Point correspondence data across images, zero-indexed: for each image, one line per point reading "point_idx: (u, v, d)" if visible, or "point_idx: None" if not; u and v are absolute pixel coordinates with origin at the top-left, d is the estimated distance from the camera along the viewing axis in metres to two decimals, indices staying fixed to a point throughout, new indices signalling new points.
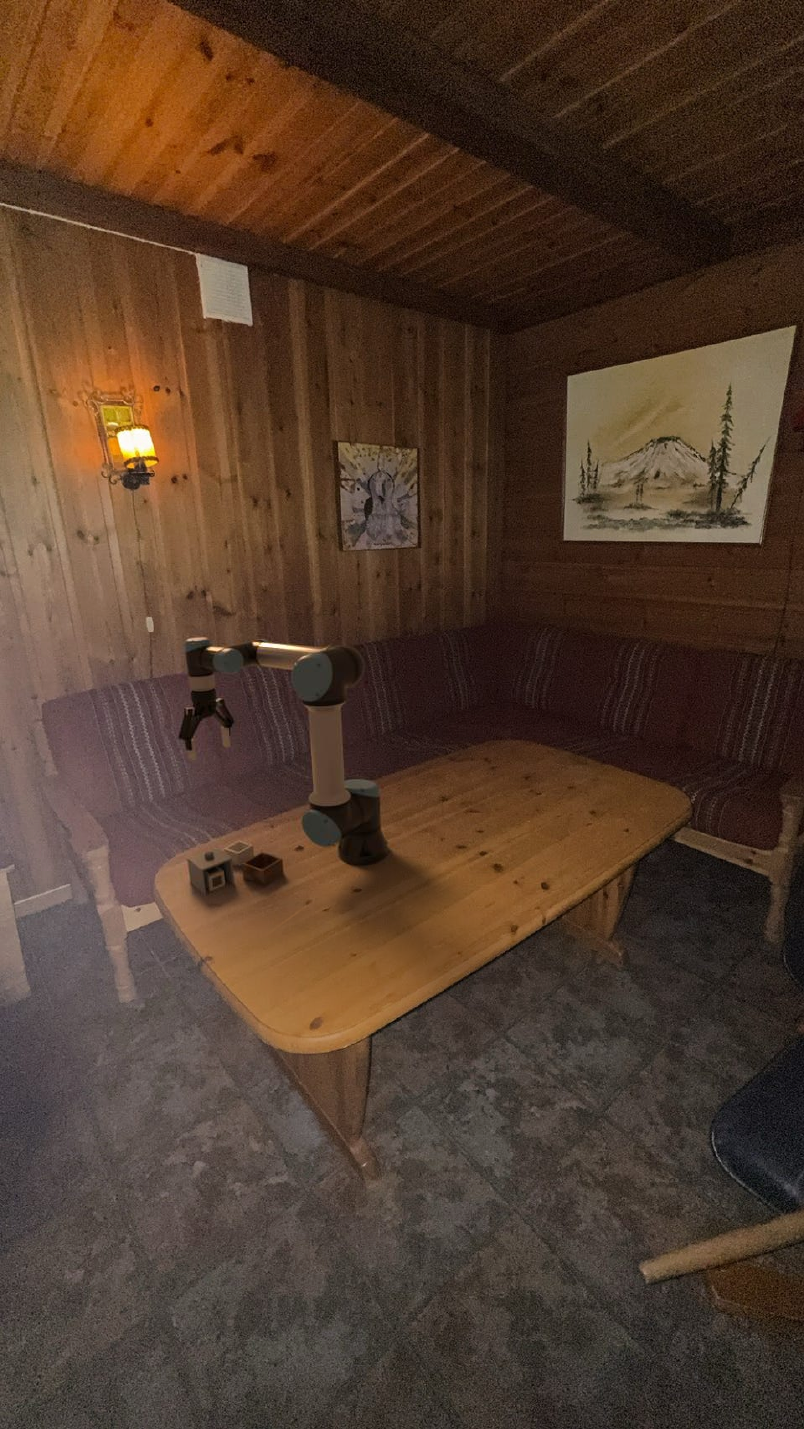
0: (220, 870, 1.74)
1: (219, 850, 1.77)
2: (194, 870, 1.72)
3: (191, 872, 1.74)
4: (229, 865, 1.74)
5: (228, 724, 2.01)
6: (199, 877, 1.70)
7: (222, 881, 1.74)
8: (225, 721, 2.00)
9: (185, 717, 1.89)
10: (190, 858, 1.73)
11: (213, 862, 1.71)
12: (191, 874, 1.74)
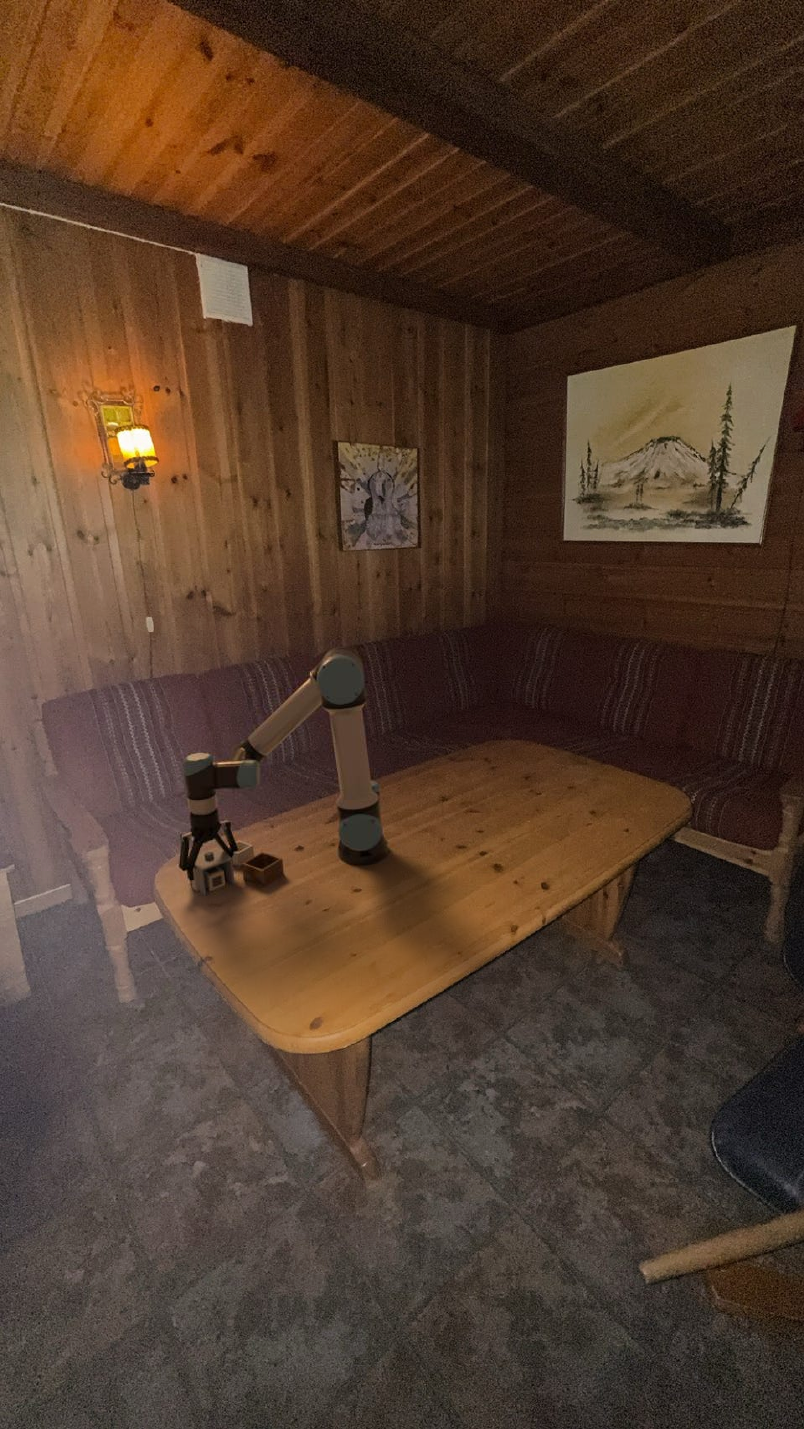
0: (220, 870, 1.74)
1: (219, 850, 1.77)
2: None
3: None
4: (229, 865, 1.74)
5: (229, 852, 1.76)
6: (199, 877, 1.70)
7: (222, 881, 1.74)
8: (226, 848, 1.75)
9: (182, 845, 1.68)
10: None
11: (213, 862, 1.71)
12: None
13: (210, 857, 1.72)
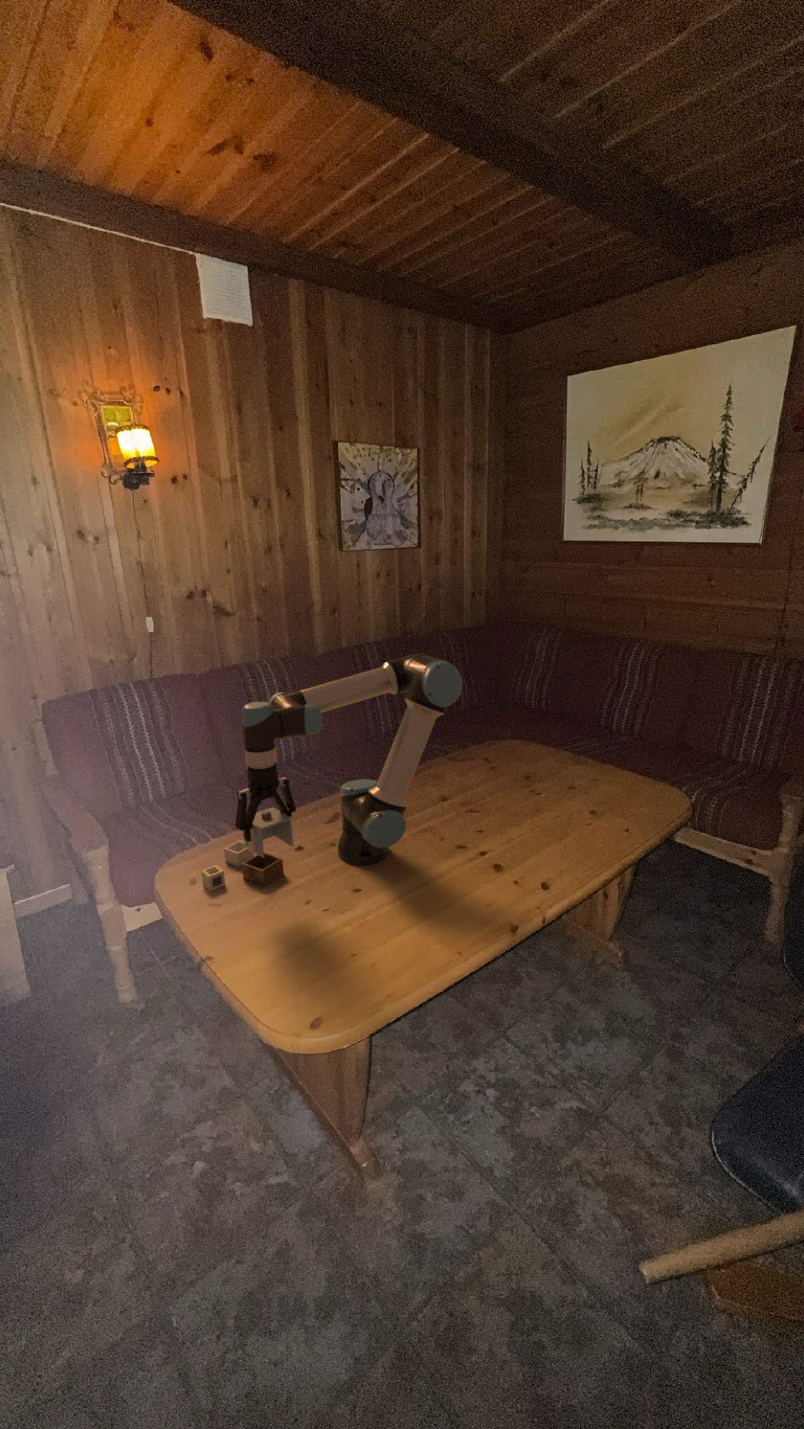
0: (220, 870, 1.74)
1: (276, 810, 1.64)
2: None
3: None
4: (287, 826, 1.61)
5: (287, 812, 1.63)
6: (257, 837, 1.56)
7: (222, 881, 1.74)
8: (284, 808, 1.62)
9: (239, 802, 1.54)
10: None
11: (271, 822, 1.58)
12: None
13: (268, 816, 1.59)
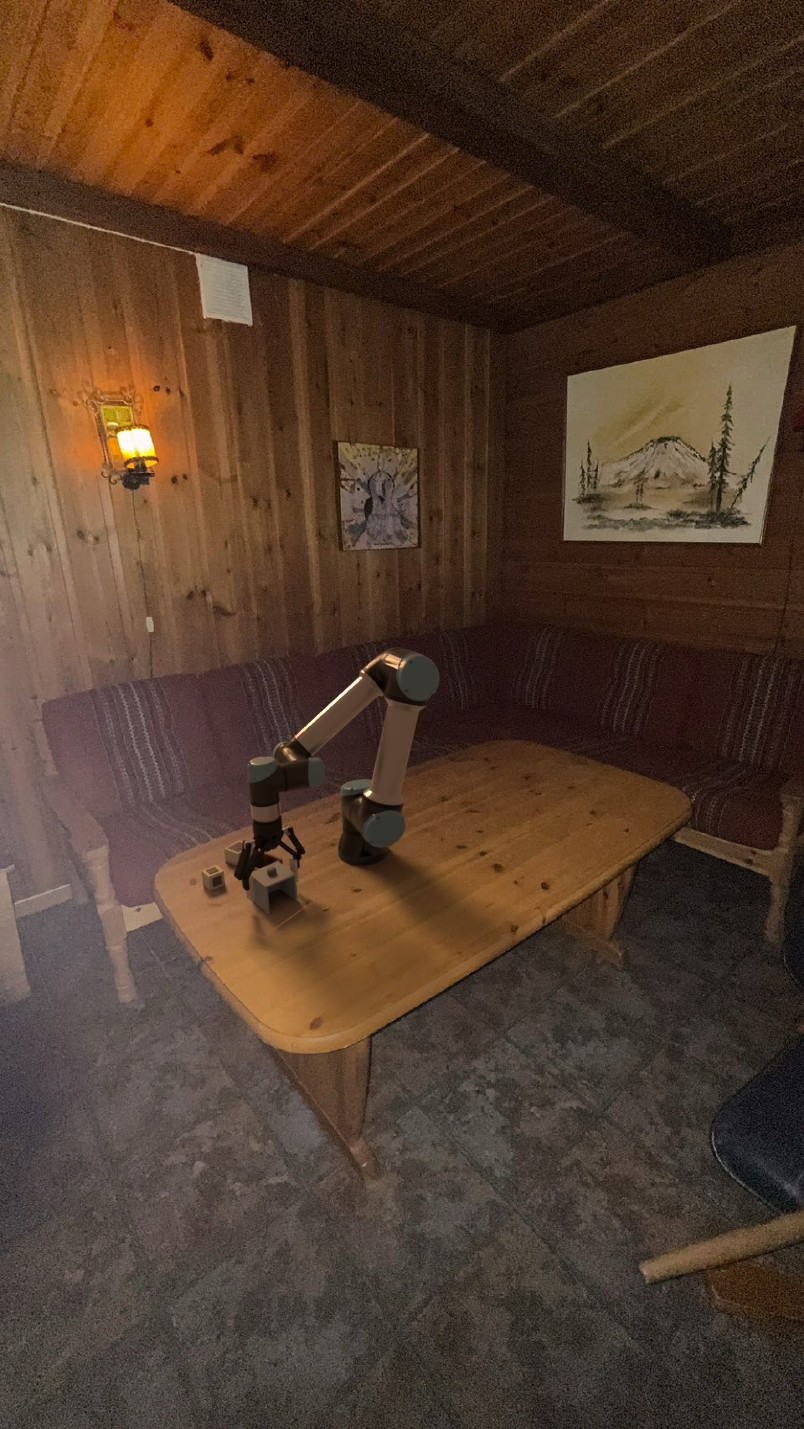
0: (220, 870, 1.74)
1: (281, 865, 1.69)
2: (256, 886, 1.63)
3: None
4: (292, 881, 1.65)
5: (297, 855, 1.68)
6: (262, 894, 1.61)
7: (222, 881, 1.74)
8: (293, 852, 1.67)
9: (243, 852, 1.58)
10: (252, 874, 1.65)
11: (277, 878, 1.62)
12: None
13: (273, 873, 1.64)
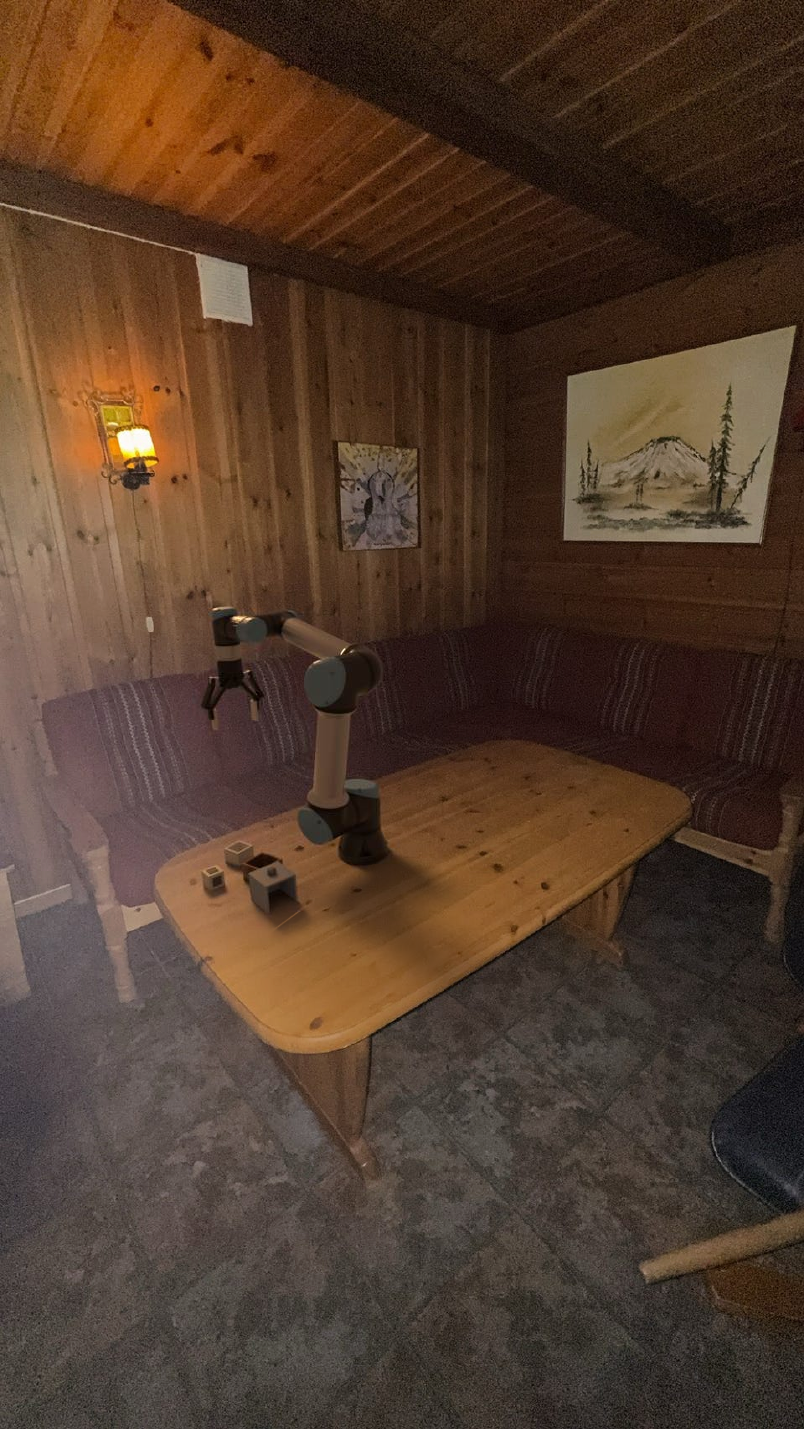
0: (220, 870, 1.74)
1: (281, 865, 1.69)
2: (256, 886, 1.63)
3: (252, 888, 1.65)
4: (292, 881, 1.65)
5: (256, 697, 1.98)
6: (262, 894, 1.61)
7: (222, 881, 1.74)
8: (253, 694, 1.97)
9: (208, 686, 1.88)
10: (252, 874, 1.65)
11: (277, 878, 1.62)
12: (252, 891, 1.65)
13: (273, 873, 1.64)
